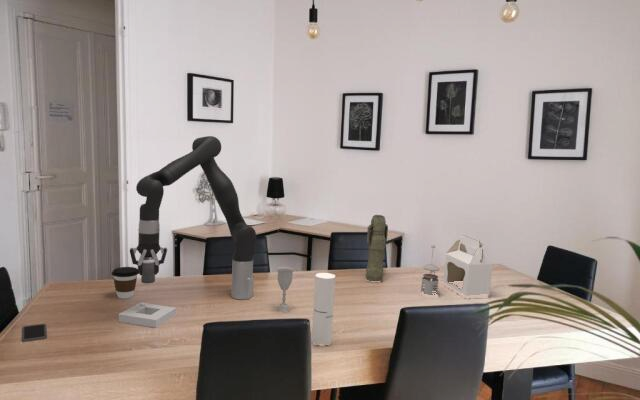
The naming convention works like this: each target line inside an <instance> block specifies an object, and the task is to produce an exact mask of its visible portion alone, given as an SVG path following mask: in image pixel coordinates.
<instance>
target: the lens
mask: <svg viewBox="0 0 640 400" xmlns="http://www.w3.org/2000/svg"><path fill="white" fill-rule="evenodd" d="M141 264H142V275H140V276H141V277H140V278H141V279H140V280H141V282H140V283H142V284H153V283H155V282H156V275H155V260H154V257H143V261H142V263H141Z"/></svg>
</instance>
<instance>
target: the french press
mask: <svg viewBox="0 0 640 400" xmlns="http://www.w3.org/2000/svg"><path fill="white" fill-rule="evenodd" d="M430 247H431V248H432V249H436V246H435V245H431V246H430ZM431 252H432V254H431V258H433V257H434V256H433V255H434V251H431ZM440 268H441V267H439V266H437V265H435V264H433V262H431V264H429V263H428V264H426V265H424V266H422V269H424V270H425V271H430V273H424V274H423V275H422V277H421V286H420V288H421V289H420V292H422V291H423V292H424V294H428V295H433V294H432V293H436V292H437V293H436V294H438V289H439V279H438V278H439V276H438V275H436V274H435V272H438V271H440V270H441V269H440ZM432 273H433V274H432ZM432 291H436V292H432ZM434 295H435V294H434Z"/></svg>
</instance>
